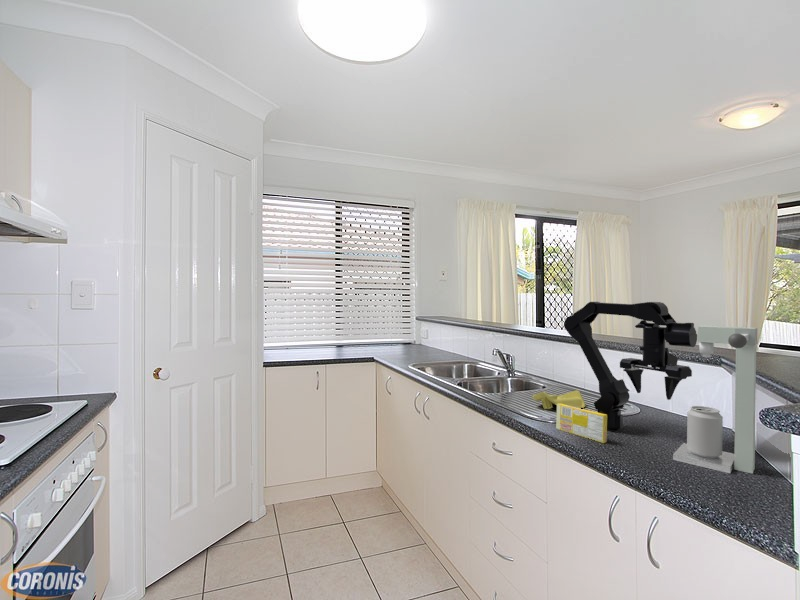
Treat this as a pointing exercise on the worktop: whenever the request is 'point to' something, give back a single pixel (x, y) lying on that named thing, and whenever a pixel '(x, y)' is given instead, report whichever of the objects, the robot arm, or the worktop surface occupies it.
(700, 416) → the can
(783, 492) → the worktop surface
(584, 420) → the candy box
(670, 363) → the robot arm
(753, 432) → the press frame
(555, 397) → the plastic component
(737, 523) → the worktop surface
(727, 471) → the plate
